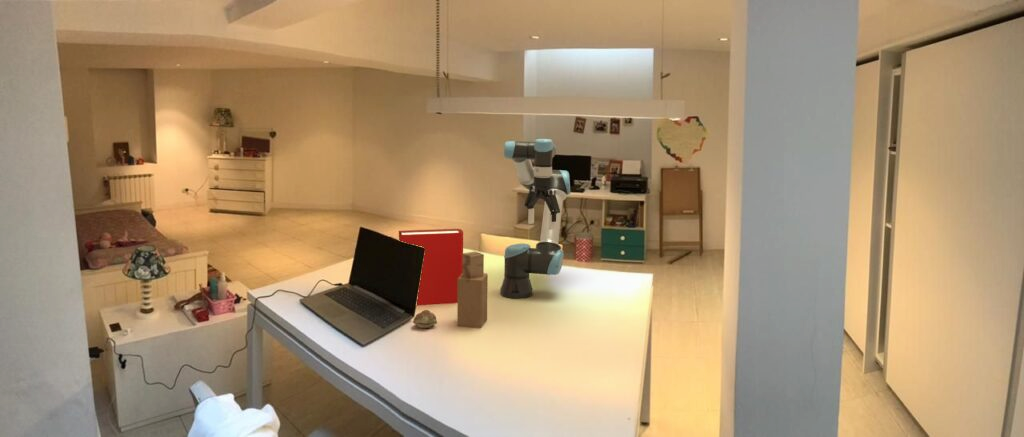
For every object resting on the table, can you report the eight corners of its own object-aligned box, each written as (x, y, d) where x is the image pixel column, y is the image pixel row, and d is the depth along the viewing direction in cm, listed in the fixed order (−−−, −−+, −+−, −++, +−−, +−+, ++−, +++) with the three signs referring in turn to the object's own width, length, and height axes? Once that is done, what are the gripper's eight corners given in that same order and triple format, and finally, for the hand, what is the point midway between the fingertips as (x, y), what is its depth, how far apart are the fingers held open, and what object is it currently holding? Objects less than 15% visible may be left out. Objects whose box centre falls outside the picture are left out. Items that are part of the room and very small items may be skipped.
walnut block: (462, 275, 250) (462, 253, 248) (475, 272, 254) (475, 251, 252) (471, 278, 246) (471, 256, 244) (483, 276, 249) (483, 254, 247)
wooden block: (481, 328, 248) (481, 280, 244) (457, 326, 250) (457, 278, 246) (487, 319, 258) (487, 273, 254) (463, 317, 260) (464, 271, 256)
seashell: (437, 331, 246) (435, 322, 254) (438, 314, 244) (435, 306, 252) (414, 332, 244) (411, 323, 251) (414, 315, 242) (412, 307, 249)
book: (401, 306, 271) (400, 234, 265) (400, 300, 279) (398, 230, 273) (463, 302, 278) (463, 232, 272) (460, 296, 286) (460, 228, 279)
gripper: (517, 173, 267) (516, 222, 272) (556, 180, 248) (554, 232, 252) (530, 172, 272) (529, 220, 276) (569, 179, 253) (568, 230, 257)
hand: (541, 226), depth 264 cm, fingers open, 13 cm apart
